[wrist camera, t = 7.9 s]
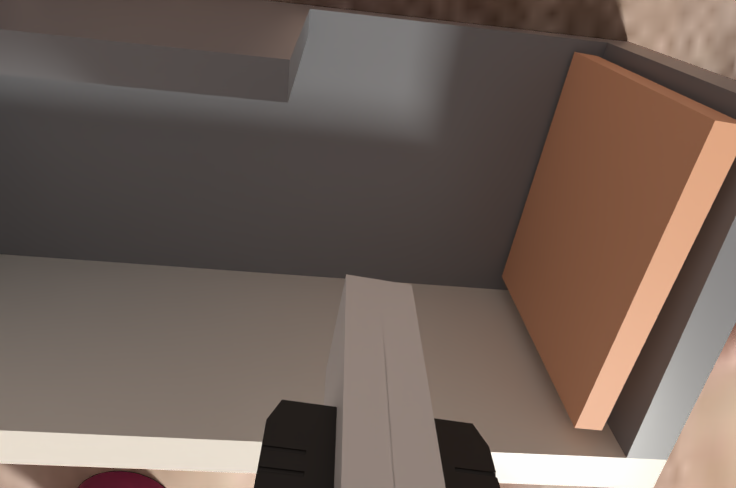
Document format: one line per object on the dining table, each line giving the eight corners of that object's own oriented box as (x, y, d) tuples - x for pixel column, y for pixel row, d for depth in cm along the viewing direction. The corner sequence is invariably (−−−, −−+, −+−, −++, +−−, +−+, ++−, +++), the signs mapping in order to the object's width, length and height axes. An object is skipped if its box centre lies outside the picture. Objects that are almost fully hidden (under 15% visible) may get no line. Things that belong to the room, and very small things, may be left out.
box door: (574, 51, 19) (715, 120, 12) (597, 55, 19) (750, 126, 12) (501, 276, 23) (574, 427, 16) (520, 278, 23) (601, 430, 16)
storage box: (628, 41, 20) (837, 117, 12) (547, 304, 25) (652, 488, 17) (-181, -51, 18) (-653, -40, 9) (-88, 260, 23) (-338, 450, 14)
